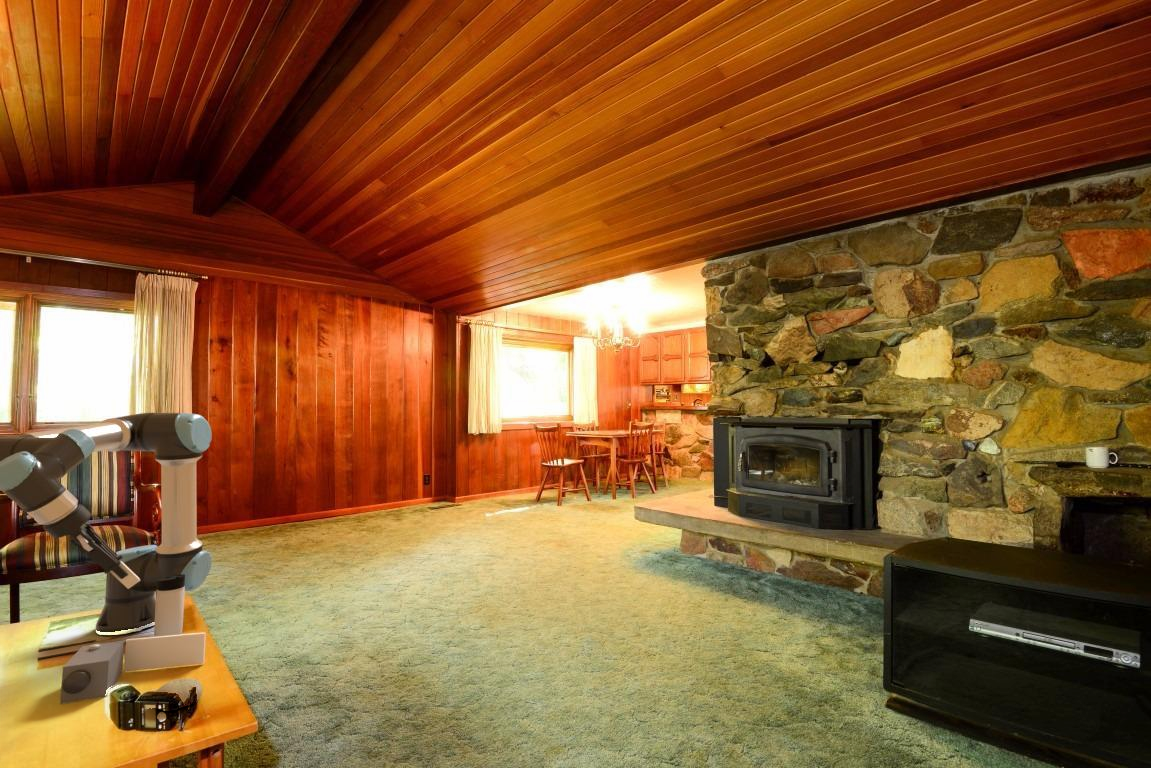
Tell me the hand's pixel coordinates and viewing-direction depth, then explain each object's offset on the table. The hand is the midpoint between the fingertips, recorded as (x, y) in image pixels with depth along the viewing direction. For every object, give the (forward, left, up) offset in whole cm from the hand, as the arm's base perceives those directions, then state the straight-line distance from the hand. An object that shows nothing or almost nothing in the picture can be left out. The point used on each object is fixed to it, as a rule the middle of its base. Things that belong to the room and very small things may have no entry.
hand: (133, 583), depth 131 cm
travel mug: (-18, +5, -24) cm, 30 cm away
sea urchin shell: (+16, +13, -24) cm, 31 cm away
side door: (-6, +6, -23) cm, 24 cm away
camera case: (0, -6, -23) cm, 24 cm away
